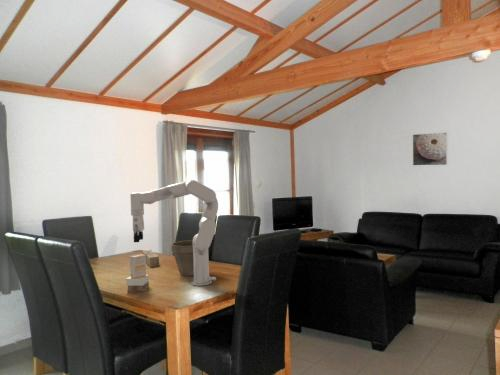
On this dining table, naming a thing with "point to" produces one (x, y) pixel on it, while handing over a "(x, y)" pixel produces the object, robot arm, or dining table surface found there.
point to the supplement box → (138, 266)
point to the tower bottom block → (138, 287)
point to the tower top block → (137, 281)
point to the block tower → (151, 258)
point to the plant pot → (184, 256)
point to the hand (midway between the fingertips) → (138, 240)
